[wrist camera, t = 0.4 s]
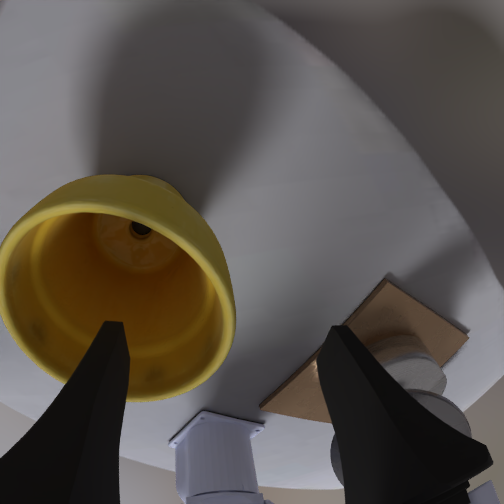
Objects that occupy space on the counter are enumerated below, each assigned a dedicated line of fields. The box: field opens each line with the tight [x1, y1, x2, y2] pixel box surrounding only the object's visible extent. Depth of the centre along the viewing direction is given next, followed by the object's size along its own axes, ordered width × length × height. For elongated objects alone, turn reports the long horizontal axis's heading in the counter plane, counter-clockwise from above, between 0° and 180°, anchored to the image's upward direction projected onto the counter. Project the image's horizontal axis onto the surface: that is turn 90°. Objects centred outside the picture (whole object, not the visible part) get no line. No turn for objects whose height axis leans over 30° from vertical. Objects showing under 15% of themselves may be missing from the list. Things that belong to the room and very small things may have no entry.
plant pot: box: [0, 174, 236, 402], centre depth 15 cm, size 10×10×10 cm
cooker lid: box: [330, 388, 472, 486], centre depth 20 cm, size 17×13×1 cm
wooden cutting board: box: [259, 278, 469, 423], centre depth 29 cm, size 18×20×5 cm
